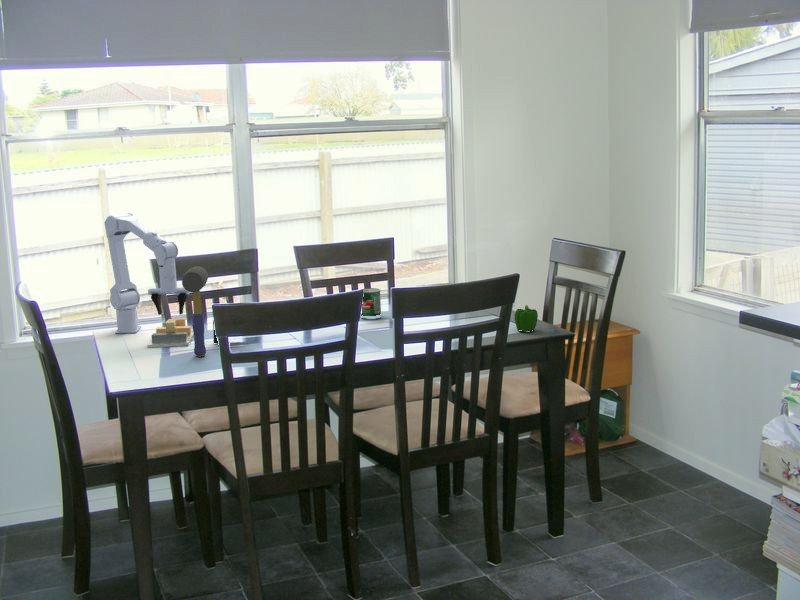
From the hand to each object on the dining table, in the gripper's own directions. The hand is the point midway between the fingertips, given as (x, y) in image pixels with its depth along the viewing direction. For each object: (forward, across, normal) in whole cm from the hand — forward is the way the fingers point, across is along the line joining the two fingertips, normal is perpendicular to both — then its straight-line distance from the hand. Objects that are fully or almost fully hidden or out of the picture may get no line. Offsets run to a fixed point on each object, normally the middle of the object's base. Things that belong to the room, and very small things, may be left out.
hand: (170, 314), depth 333 cm
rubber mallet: (+9, +16, -24) cm, 31 cm away
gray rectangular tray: (+9, 0, +1) cm, 9 cm away
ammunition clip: (+10, +22, -7) cm, 25 cm away
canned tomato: (+9, +70, +30) cm, 77 cm away
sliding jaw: (+8, -1, +7) cm, 11 cm away
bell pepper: (+9, +128, +3) cm, 128 cm away
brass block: (+8, 0, -2) cm, 9 cm away
